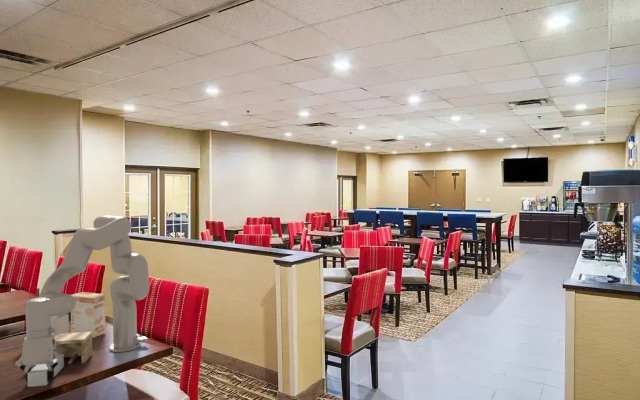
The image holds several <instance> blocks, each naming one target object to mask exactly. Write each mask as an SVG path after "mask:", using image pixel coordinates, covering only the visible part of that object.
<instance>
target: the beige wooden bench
mask: <svg viewBox="0 0 640 400" xmlns="http://www.w3.org/2000/svg"><path fill="white" fill-rule="evenodd" d="M54 336H55V340H56V346H57V353H58V354H64V358H70V359H69V360H68V361H67V364H68V365H72V364H73V362H74V361H75V360H76V359H77V358H78V357H81V364H86V362H87V361H88V360H89V359H90V357H91V356H92V355H93V338H92V332H78V333H71V332H69V333H64V334H54ZM35 366H36V365H32V367H31V368H34V367H35Z"/></svg>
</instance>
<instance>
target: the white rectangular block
mask: <svg viewBox="0 0 640 400" xmlns="http://www.w3.org/2000/svg"><path fill="white" fill-rule="evenodd" d="M59 355H61V356H62V357H63V360H62V361H61V362H60V363H59V364H58V365H57V366H56V367H55V368H54V378H55V377H56V376H57V375H58V373H59V372H61V370H62V369H63V368H64V367H65V357H64V354H59ZM56 361H57V359H53V362H54V363H55V362H56ZM47 372H48V368H47V366H46V364H41V365H35V366H34V367H32V368H31V370H30V371H29V372H28V373H27V377H28V384H27V388H30V387H42V386H47V385H48V384H49V383H50V382H47Z"/></svg>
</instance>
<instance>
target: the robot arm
mask: <svg viewBox="0 0 640 400" xmlns="http://www.w3.org/2000/svg"><path fill="white" fill-rule="evenodd" d="M131 229H132V223H131V220H130V219H128V218H127V217H125V216H121V215H119V216H117V215H100V216H97V217H96V218H95V219H94V221H93V227H92V228H91V227H90V228H89V227H84V228H83V227H82V228H80V229H78V230H76V231H75V233H74V234H73V236H72V238H71V240H70V244H69V246H68V249H67V250H66V253H65V255H64V257H63V260H62V262H61V264H60V265H59V266H58V267H57V268H56V269H55V270H54V271H53V272H52V273H51V274H50V275H49V276H48V277H47V279H46V280H45V282H44V284H43V286H42V289H41V290H40V293H39V295H38V297H35V298H31V299H28V300H27V301H26V303H25V337H24V338H23V343H22V348H21V350H22V351H21V356H20V357H19V358H18V359H17V360H16V361H15V362H14V365H15V366H17V368H19V369H20V370H21V371H23V373H24V374H25V381H26V384H27V385H28V377H27V373H28V372H29V371H30V370H32V368H33V367H32V365H35V366H36V365H41V364H46V366H47V368H48V372H47V382H49V383H50V382H51V381H52V380H53V379H54V378H55V377H54V368H55V367H56V366H57V365H58V364H59V363H60V362H61V361H62V360H63V357H62V356H61V355H59V354H58V353H57V346H56V340H55V336H54V334H53V333H52V332H55V328H52V326H51V316H55V315H62V314H66V313H67V314H70V313H71V311H72V310H73V309H74V307H75V305H76V301H75V298H74V297H73V296H71V295H72V294H67V293H63V292H61V291H62V289H63V287H64V285H65V284H66V283H67V282H68V281H69V280H70V279H72V278H73V277H75V276H77V275H79V274H81V273H83V272H85V270H86V269H87V267H88V264H89V262H90V259H91V256H92V254H93V253H92V252H94V251H101V250H104V249H106V248H108V247H109V251H110V253H109V254H110V263H111V265H110V266H111V269H112V271H113V272H114V273H116V274H117V275H121V276H117V277H115V278H114V279H113V280H112V281H111V283H110V286H109V293H110V297H111V298H110V299H111V304H112V329H113V330H112V331H113V334H112V335H113V339H112V342H113V343H111V344H110V345H109V351H111V352H114V353H126V352H131V351H134V350H136V349H138V348H139V347H140V346H141V345H142V343H147V342H148V338H147V337H146V336H140V334H139V333H138V329H137V325H138V323H137V322H138V321H137V320H138V319H137V318H138V317H137V314H138V313H137V303H136V301H141V300H143V299H144V300H145V298H146V297H147V296H148V294H149V291H150V277H149V275H150V274H149V265H148V261H147V259H146V257H145V256H144V255H143V254H141V253H135V252H133V248H132V242H131V239H130V236H129V233H130V231H131ZM53 359H57V361H56V362H55V363H54V362H53Z"/></svg>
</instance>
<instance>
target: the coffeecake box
mask: <svg viewBox="0 0 640 400" xmlns="http://www.w3.org/2000/svg"><path fill="white" fill-rule="evenodd" d="M70 295H71V296H73V297H74V298H75V301H76V305H75V307H74V309H73V310H72V311H70V324H71V325H70V326H71V327H70V328H71V329H70V330H71V332H70V333H78V332H92V339H94V338H95V339H96V338H98V337H100V335H101V336H103V335H106V308H105V307H106V305H105V304H106V301H105V300H106V299H105V298H106V297H105V296H106V295H105V294H104V293H96V292H86V291H81V292H78V293H73V294H70ZM102 334H103V335H102ZM97 336H98V337H97Z"/></svg>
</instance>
